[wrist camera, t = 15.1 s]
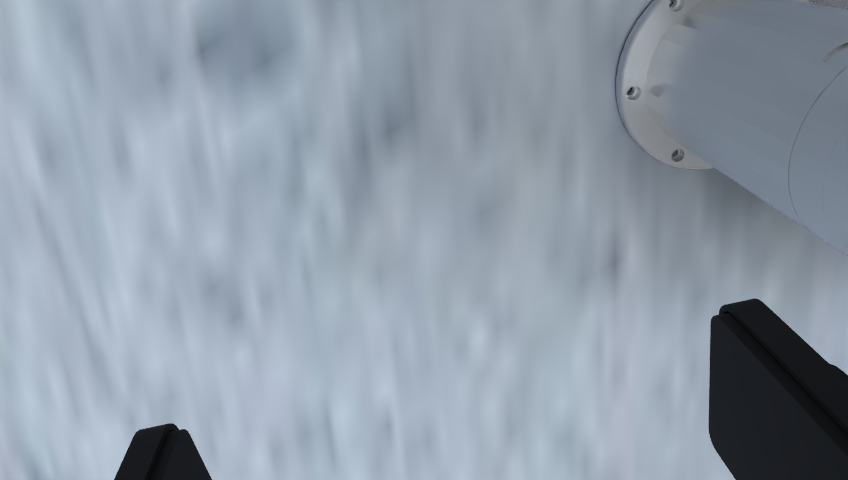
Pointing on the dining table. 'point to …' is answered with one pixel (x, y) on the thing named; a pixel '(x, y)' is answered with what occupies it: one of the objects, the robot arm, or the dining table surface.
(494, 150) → the dining table surface
